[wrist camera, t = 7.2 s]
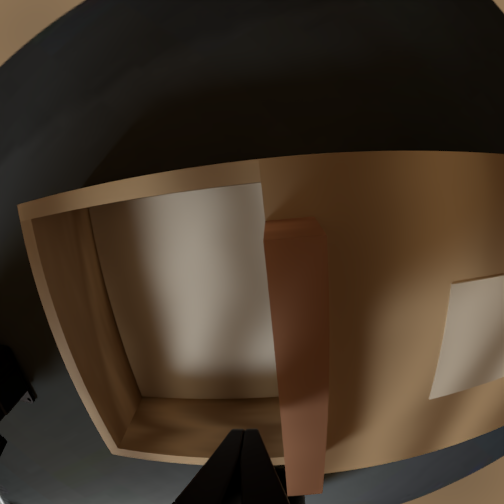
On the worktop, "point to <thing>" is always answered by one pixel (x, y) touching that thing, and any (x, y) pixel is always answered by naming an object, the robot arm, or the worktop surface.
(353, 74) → the worktop surface
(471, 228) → the mailer lid
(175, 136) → the worktop surface
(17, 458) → the worktop surface
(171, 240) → the mailer box
